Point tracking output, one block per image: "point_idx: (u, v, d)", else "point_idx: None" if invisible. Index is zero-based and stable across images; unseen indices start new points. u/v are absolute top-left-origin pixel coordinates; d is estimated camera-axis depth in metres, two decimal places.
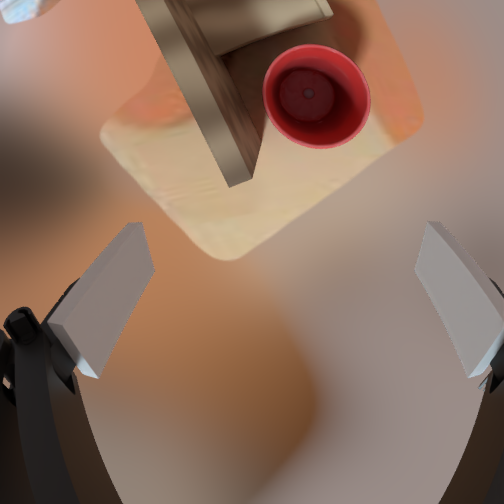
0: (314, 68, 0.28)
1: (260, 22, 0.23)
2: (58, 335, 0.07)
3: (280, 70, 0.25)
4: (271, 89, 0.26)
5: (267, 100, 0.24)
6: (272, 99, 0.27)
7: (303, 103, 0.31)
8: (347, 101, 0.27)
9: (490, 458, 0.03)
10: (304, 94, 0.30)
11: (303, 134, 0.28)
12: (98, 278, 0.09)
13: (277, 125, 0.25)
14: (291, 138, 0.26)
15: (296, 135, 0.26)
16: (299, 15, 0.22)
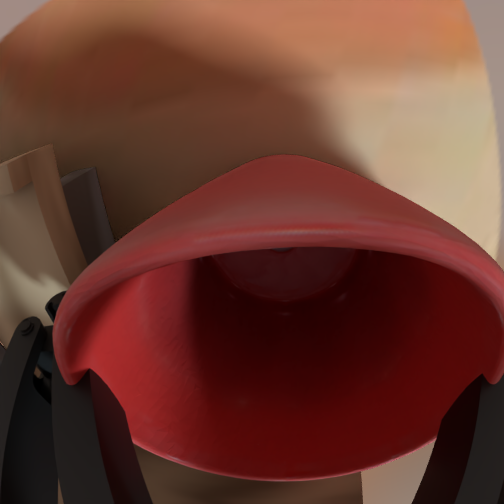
0: None
1: None
2: None
3: (181, 365, 0.10)
4: (228, 405, 0.10)
5: (248, 469, 0.08)
6: (257, 403, 0.10)
7: (303, 260, 0.13)
8: None
9: (460, 453, 0.03)
10: (281, 250, 0.13)
11: (383, 392, 0.08)
12: None
13: (320, 477, 0.08)
14: (370, 468, 0.07)
15: (373, 438, 0.08)
16: (35, 242, 0.09)
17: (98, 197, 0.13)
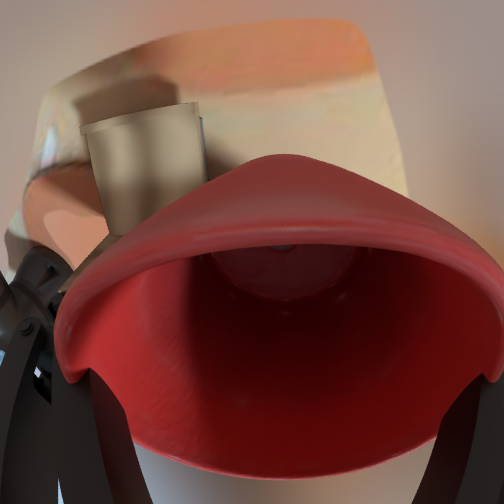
0: None
1: (185, 180, 0.27)
2: None
3: (181, 364, 0.10)
4: (229, 404, 0.10)
5: (248, 468, 0.08)
6: (257, 402, 0.10)
7: (303, 259, 0.13)
8: None
9: (459, 452, 0.03)
10: (281, 250, 0.13)
11: (383, 391, 0.08)
12: None
13: (320, 476, 0.08)
14: (370, 467, 0.07)
15: (373, 437, 0.08)
16: (186, 138, 0.25)
17: (202, 131, 0.29)
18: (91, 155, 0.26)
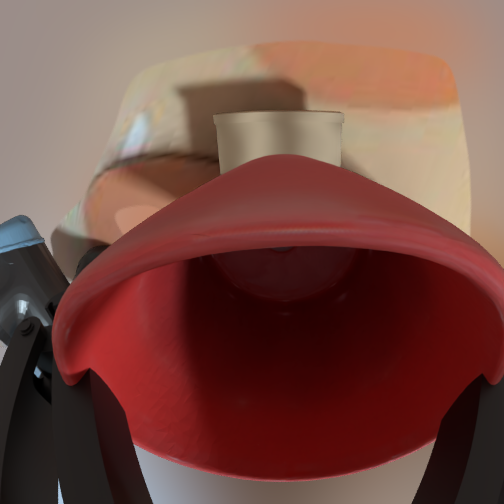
0: None
1: None
2: None
3: (181, 365, 0.10)
4: (228, 405, 0.10)
5: (248, 469, 0.08)
6: (257, 403, 0.10)
7: (303, 259, 0.13)
8: None
9: (460, 453, 0.03)
10: (281, 250, 0.13)
11: (384, 393, 0.08)
12: None
13: (320, 478, 0.08)
14: (370, 468, 0.07)
15: (373, 438, 0.08)
16: (331, 143, 0.27)
17: None
18: (219, 147, 0.28)
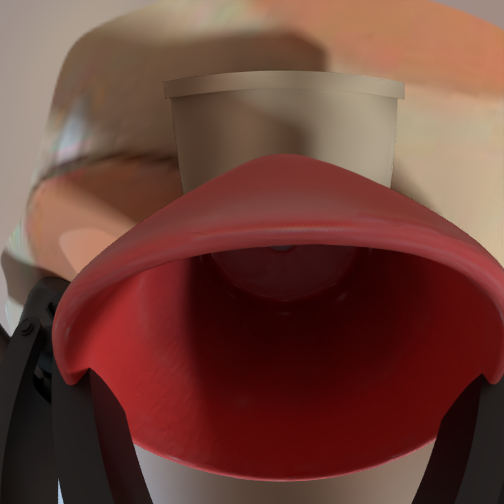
0: None
1: None
2: None
3: (181, 365, 0.10)
4: (228, 405, 0.10)
5: (248, 469, 0.08)
6: (257, 402, 0.10)
7: (303, 259, 0.13)
8: None
9: (460, 453, 0.03)
10: (281, 250, 0.13)
11: (384, 392, 0.08)
12: None
13: (320, 477, 0.08)
14: (370, 468, 0.07)
15: (373, 438, 0.08)
16: (379, 135, 0.14)
17: None
18: (179, 140, 0.15)
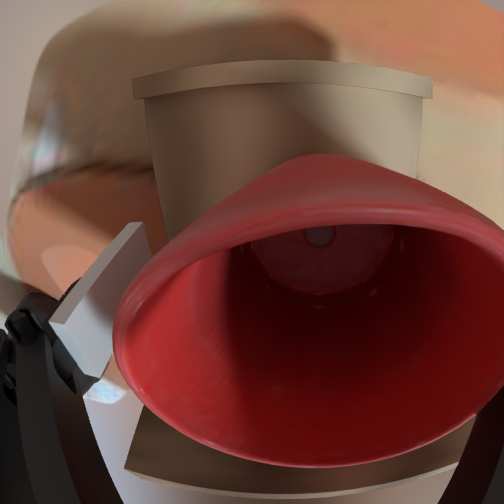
0: None
1: None
2: (59, 334, 0.07)
3: (221, 350, 0.10)
4: (264, 392, 0.10)
5: (280, 454, 0.09)
6: (290, 390, 0.11)
7: (338, 255, 0.13)
8: None
9: (489, 458, 0.03)
10: (319, 244, 0.13)
11: (411, 382, 0.09)
12: (99, 277, 0.09)
13: (348, 464, 0.08)
14: (395, 455, 0.07)
15: (400, 426, 0.08)
16: (400, 143, 0.11)
17: None
18: (154, 150, 0.12)
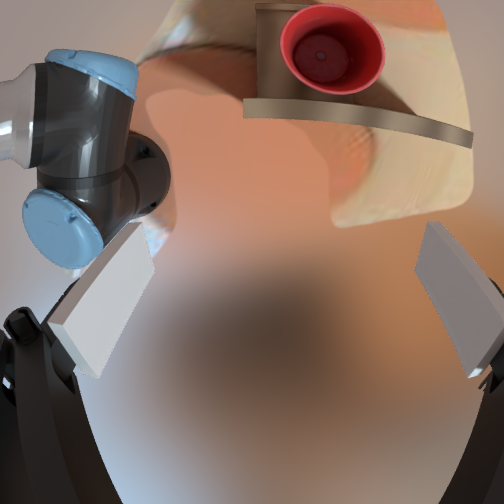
0: (298, 40, 0.27)
1: None
2: (58, 335, 0.07)
3: (294, 66, 0.26)
4: (310, 81, 0.26)
5: (321, 87, 0.24)
6: (319, 85, 0.26)
7: (328, 64, 0.29)
8: (343, 28, 0.23)
9: (490, 458, 0.03)
10: (321, 59, 0.29)
11: (362, 76, 0.24)
12: (98, 278, 0.09)
13: (348, 91, 0.24)
14: (364, 86, 0.23)
15: (362, 82, 0.24)
16: None
17: None
18: (257, 27, 0.28)
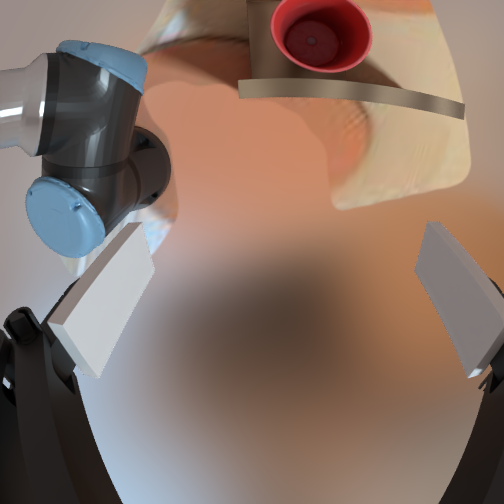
0: (289, 27, 0.27)
1: None
2: (58, 335, 0.07)
3: (286, 49, 0.26)
4: None
5: (313, 67, 0.24)
6: None
7: (319, 48, 0.29)
8: (330, 12, 0.23)
9: (490, 458, 0.03)
10: (311, 44, 0.29)
11: (352, 56, 0.24)
12: (98, 278, 0.09)
13: (339, 69, 0.24)
14: (354, 64, 0.23)
15: (352, 60, 0.24)
16: None
17: None
18: (249, 17, 0.28)
